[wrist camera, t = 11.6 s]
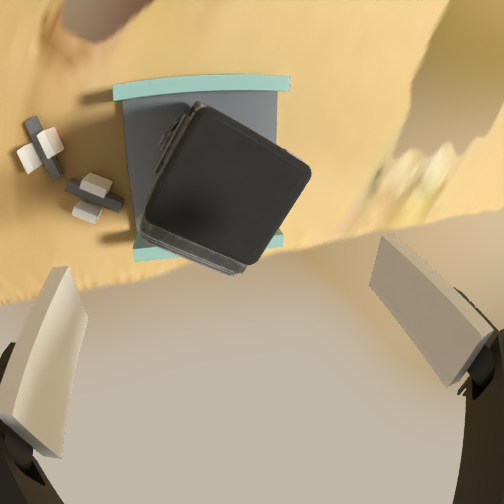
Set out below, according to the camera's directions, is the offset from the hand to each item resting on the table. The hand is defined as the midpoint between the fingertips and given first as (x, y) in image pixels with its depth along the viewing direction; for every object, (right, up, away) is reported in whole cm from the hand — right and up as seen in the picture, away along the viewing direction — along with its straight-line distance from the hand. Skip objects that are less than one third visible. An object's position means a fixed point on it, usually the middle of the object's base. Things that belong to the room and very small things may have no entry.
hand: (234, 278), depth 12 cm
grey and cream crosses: (-19, +11, +16) cm, 27 cm away
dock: (-5, +11, +19) cm, 23 cm away
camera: (-4, +11, +19) cm, 22 cm away
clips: (-19, +10, +17) cm, 27 cm away
